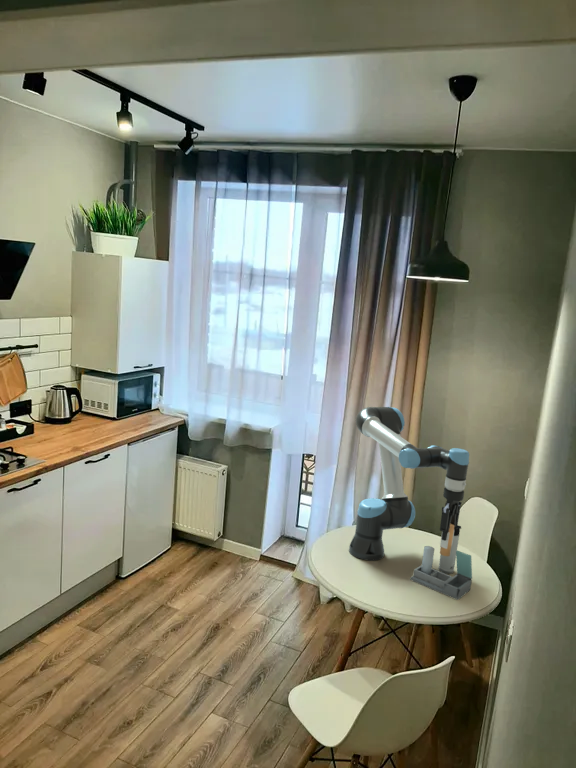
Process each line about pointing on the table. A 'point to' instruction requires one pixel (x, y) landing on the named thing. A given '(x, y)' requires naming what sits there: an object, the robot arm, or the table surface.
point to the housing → (443, 582)
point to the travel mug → (449, 561)
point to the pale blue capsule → (427, 560)
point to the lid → (464, 564)
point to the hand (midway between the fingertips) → (446, 545)
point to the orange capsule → (447, 551)
